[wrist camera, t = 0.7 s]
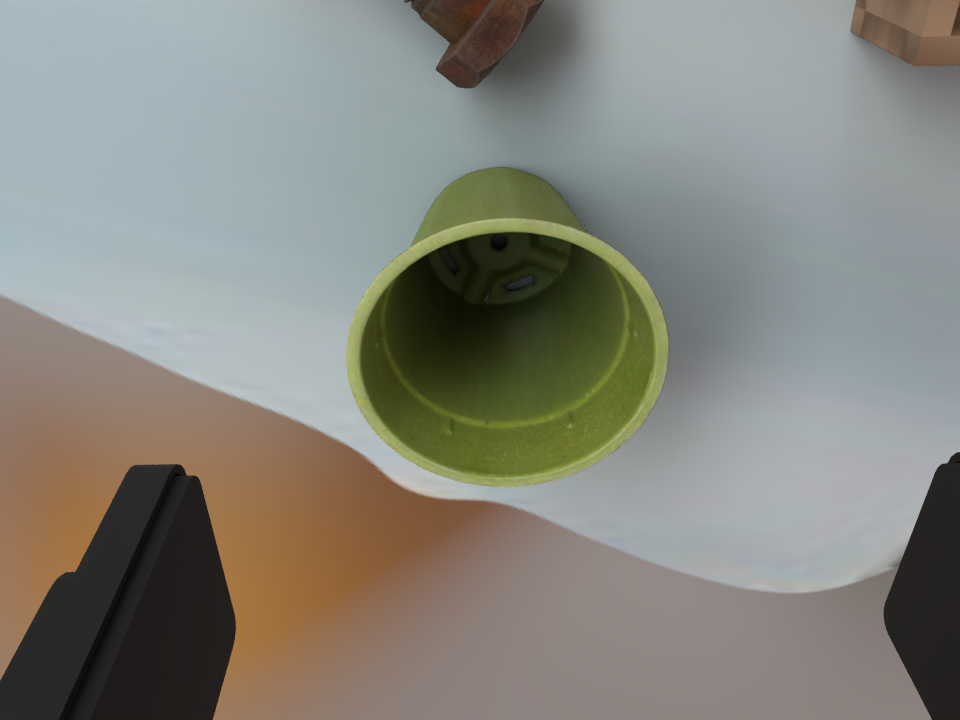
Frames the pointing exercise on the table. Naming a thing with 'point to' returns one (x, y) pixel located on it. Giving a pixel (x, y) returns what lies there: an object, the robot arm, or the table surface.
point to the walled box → (912, 29)
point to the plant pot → (506, 339)
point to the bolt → (475, 33)
